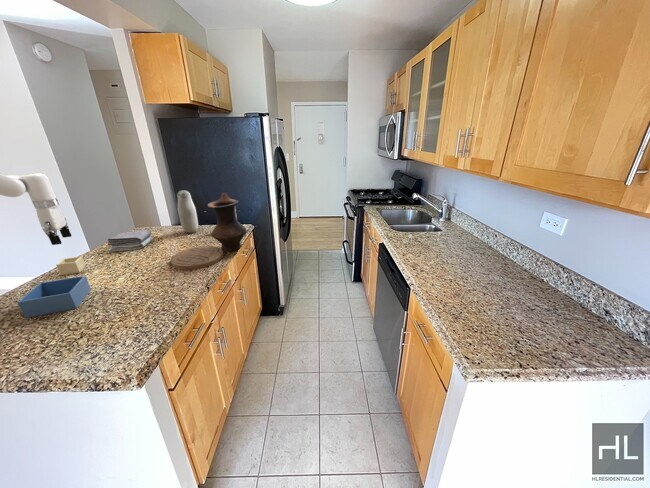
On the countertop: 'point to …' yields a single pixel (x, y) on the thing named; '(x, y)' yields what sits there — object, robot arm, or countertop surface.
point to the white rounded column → (187, 212)
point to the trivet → (196, 257)
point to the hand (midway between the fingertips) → (62, 240)
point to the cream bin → (71, 265)
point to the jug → (227, 223)
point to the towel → (129, 241)
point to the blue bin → (54, 296)
